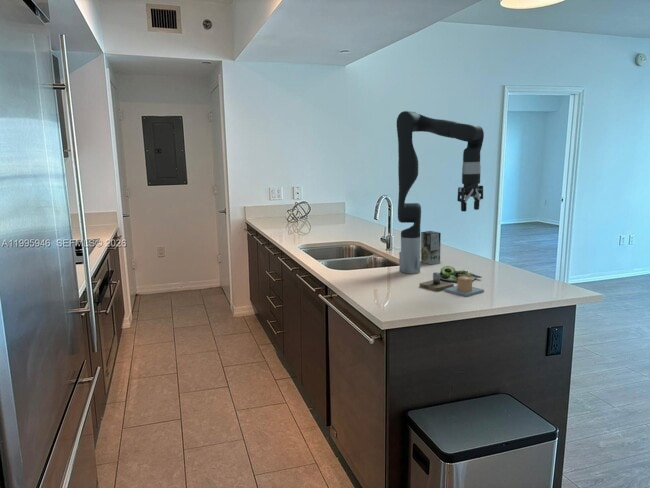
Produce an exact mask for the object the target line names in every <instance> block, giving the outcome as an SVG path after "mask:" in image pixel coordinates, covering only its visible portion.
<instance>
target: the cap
mask: <svg viewBox="0 0 650 488" xmlns="http://www.w3.org/2000/svg"><path fill="white" fill-rule="evenodd" d="M456 286H457V289H458V290H459V291H472V287H473V281H472V278H471V277H467V276H461V277H458V282H457V285H456Z"/></svg>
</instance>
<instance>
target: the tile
mask: <svg viewBox="0 0 650 488" xmlns="http://www.w3.org/2000/svg"><path fill="white" fill-rule="evenodd" d="M444 292H445V293H449V294H453V295H457V296H461V297H465V298H467V297H471V296H472V297H473V296H474V295H475V296H476V295H478V294H481V293H484V292H485V289H484V288H478V287H474V286H472V291H459V290H458V289H457V285H455V286H454V287H450V288H446V289H445V290H444Z"/></svg>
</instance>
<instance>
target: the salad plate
mask: <svg viewBox="0 0 650 488" xmlns="http://www.w3.org/2000/svg"><path fill="white" fill-rule="evenodd" d="M439 273H440V281H444V282H448V283H454V284H455V283H457V282H458V277H461V276H467V277H471V278H472V282H474V280H476V279H481V278H483V276H480V275H477V274H474V273H472V272H469V271H467V270H464V269H462V270H456V268H454V267H453V266H451V265H450V266H449V265H446V266H443V267H441V268H440V272H439Z"/></svg>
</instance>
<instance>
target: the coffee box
mask: <svg viewBox="0 0 650 488" xmlns="http://www.w3.org/2000/svg"><path fill="white" fill-rule="evenodd" d="M421 262H422V263H425V264H427V265H428V264H429V265H437V264H441V232H438V231H432V230H426V231H420V263H421Z"/></svg>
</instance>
